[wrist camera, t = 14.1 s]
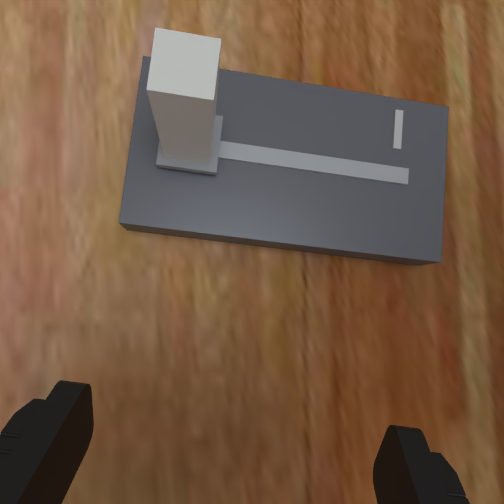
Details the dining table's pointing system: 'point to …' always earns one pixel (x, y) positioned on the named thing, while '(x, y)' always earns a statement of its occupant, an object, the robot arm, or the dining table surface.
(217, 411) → the dining table surface
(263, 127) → the console
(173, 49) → the fader tab
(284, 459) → the dining table surface
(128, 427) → the dining table surface
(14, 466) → the robot arm
